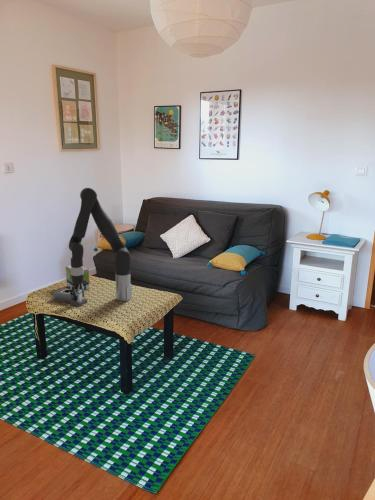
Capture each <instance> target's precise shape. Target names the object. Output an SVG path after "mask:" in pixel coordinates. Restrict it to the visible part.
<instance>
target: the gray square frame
mask: <svg viewBox="0 0 375 500" xmlns="http://www.w3.org/2000/svg"><path fill="white" fill-rule="evenodd" d="M87 303H88V299H87V298H83V301H81V302H76V301H74V300H73V301H71V303H70V306H71V305H72V306H76V307H82V306H84V305H85V304H87Z"/></svg>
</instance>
